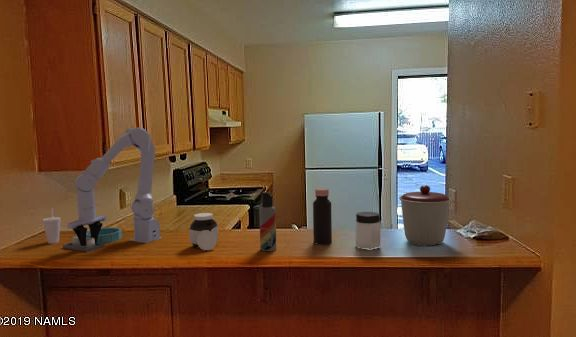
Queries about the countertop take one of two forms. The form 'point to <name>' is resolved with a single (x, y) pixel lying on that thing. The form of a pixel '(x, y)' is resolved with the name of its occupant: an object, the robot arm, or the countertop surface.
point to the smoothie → (52, 228)
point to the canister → (425, 216)
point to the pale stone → (89, 242)
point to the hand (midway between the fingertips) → (88, 244)
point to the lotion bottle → (267, 224)
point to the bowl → (107, 235)
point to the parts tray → (69, 246)
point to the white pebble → (76, 242)
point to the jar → (367, 230)
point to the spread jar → (204, 231)
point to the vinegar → (322, 217)
